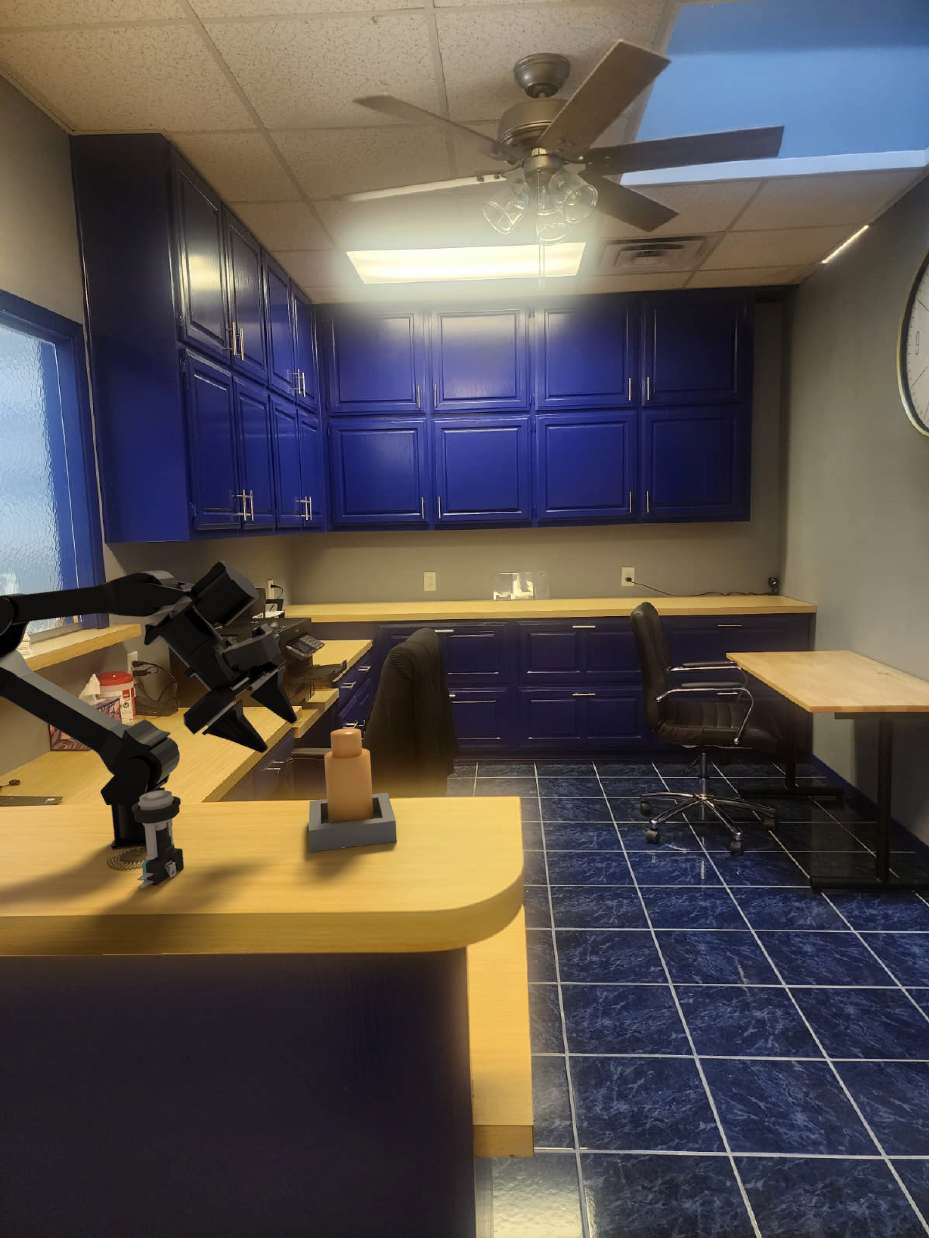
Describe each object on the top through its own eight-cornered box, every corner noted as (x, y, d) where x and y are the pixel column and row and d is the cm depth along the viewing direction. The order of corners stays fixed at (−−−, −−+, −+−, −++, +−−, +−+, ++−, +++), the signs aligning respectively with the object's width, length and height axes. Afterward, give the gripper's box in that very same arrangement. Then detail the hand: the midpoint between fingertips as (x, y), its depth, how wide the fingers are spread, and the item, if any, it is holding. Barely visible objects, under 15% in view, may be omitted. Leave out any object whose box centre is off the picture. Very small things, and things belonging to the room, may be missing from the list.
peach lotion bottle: (336, 838, 95) (330, 740, 93) (323, 823, 100) (317, 730, 99) (380, 828, 97) (374, 733, 96) (365, 814, 103) (360, 724, 101)
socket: (310, 851, 92) (308, 830, 92) (310, 820, 103) (309, 800, 103) (396, 841, 94) (395, 820, 94) (388, 811, 105) (387, 792, 105)
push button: (159, 894, 83) (152, 809, 81) (120, 890, 84) (112, 806, 83) (196, 868, 89) (189, 788, 88) (159, 864, 90) (151, 786, 89)
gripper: (202, 632, 85) (291, 731, 86) (272, 594, 103) (345, 677, 104) (145, 686, 88) (232, 781, 90) (222, 641, 106) (294, 720, 107)
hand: (280, 735), depth 98 cm, fingers open, 9 cm apart
